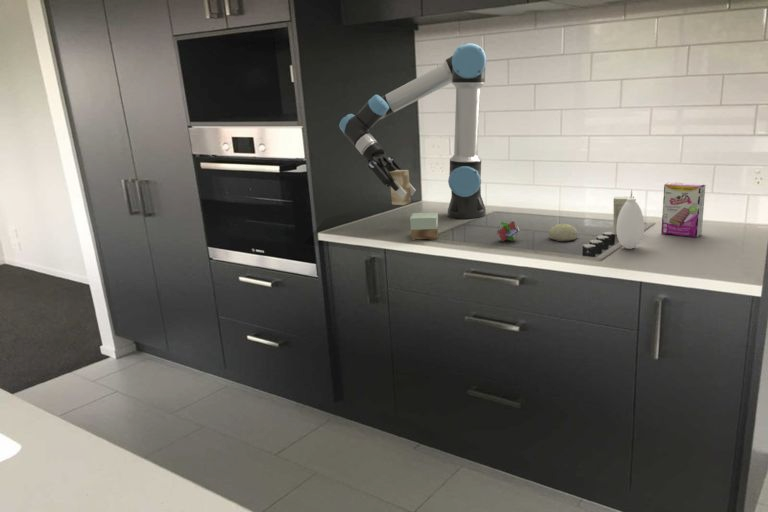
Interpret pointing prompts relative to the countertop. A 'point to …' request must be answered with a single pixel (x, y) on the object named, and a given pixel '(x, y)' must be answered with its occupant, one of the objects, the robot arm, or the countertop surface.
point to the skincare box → (618, 209)
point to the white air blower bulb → (630, 224)
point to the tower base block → (425, 234)
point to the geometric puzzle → (508, 231)
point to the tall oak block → (403, 181)
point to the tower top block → (424, 221)
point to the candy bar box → (683, 209)
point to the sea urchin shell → (563, 232)
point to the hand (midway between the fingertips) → (408, 194)
